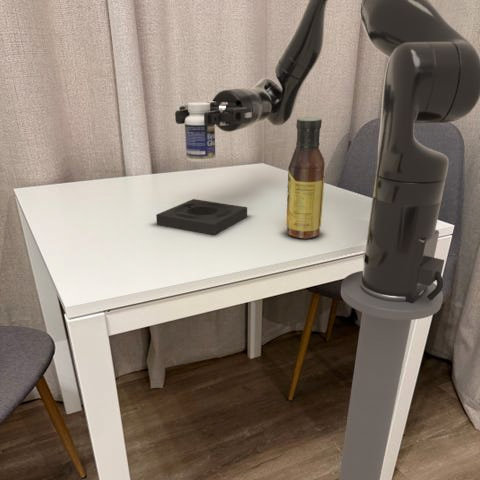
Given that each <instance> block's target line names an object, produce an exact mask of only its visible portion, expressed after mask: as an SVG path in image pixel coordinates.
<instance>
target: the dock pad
mask: <svg viewBox="0 0 480 480" xmlns="http://www.w3.org/2000/svg"><path fill="white" fill-rule="evenodd" d="M155 216H156V225H157V226H163V227H169V228H173V229H174V228H175V229H178V230H184V231H190V232H195V233H200V234H201V233H202V234H208V235H213V236H216V235H217V234H219V233H220V232H223V231H224V230H226V229H228V228H229V227H231V226H234V225H235V224H237V223H239V222H241V221H242V220H244V219H245V218H248V206H243V205H242V206H241V205H235V204H228V203H222V202H215V201H209V200H201V199H195V198H192V199H189V200H187V201H185V202H183V203H180V204H178V205H175V206H173V207H171V208H168V209H166V210H164V211H161V212H159V213H157V214H156V215H155Z"/></svg>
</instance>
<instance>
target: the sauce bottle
mask: <svg viewBox="0 0 480 480" xmlns="http://www.w3.org/2000/svg"><path fill="white" fill-rule="evenodd" d="M322 121H323V119H322V118H321V117H317V116H302V117H301V116H300V117H298V118H296V123H295V124H296V126H295V127H296V130H297V131H296V143H295V149H294V151H293V154H292V156H291V160H290V162H289V165H288V169H287V194H286V195H287V196H286V197H287V198H286V221H285V222H286V232H287V234H288V236H291V237H293V238H297V239H302V240H303V239H305V240H308V239H312V238H316V237H318V236H319V235H320V233H321V232H320V230H321V226H322V218H323V217H322V216H323V202H324V187H325V165H326V163H325V158H324V156H323V153H322V152H321V149H320V148H319V146H320V134H321V128H322Z"/></svg>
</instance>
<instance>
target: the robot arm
mask: <svg viewBox="0 0 480 480" xmlns="http://www.w3.org/2000/svg"><path fill="white" fill-rule="evenodd" d="M328 3H329V0H308V1H307V2H306V6H305V8H304V10H303V11H302V12H303V13H302V15H301V17H300V20H299V21H298V23H297V26H296V28H295V31H294V33H293V34H292V35H291V38H290V40H289V41H288V43H287V45H286V47H285V48H284V49H283V51H282V53H281V55H280V57H279V58H278V60H277V62H276V64H275V67H274V75H275V77H276V79H277V81H278V83H279V84H280V85H279V84H278V83H277V82H276V81H275V80H273V79H272V78H270V77H263V78H261V79H260V80H259V81H258V82H257V83H256V84H255V85H254V86H253V87H250V88H245V87H239V88H232V89H224V90H221V91H219V92H218V93H216V94H215V95H214V97H213V98H212V100H211V101H210V100H208V101H207V102H206V103H210V111H209V112H205V113H204V125H205V126H212V125H215V127H217V128H218V129H220V130H221V131H223V132H228V133H229V132H234V131H235V132H236V131H238V130H241V129H246V128H249V127H251V126H253V125H257V124H259V123H262V122H265V121H267V122H268V123H269V124H271V125H272V126H274V127H280V126H283V125H284V124H286V123H287V122H288V121H289V120H290V119H291V118H292V116H293V114H294V112H295V110H296V106H297V102H298V100H299V96H300V93H301V91H302V87H303V85H304V84H305V81H306V80H307V78H308V77H309V75H310V74H311V72H312V70H313V69H314V67H315V66H316V64H317V63H318V61H319V59H320V56H321V55H322V52H323V48H324V42H325V26H326V14H327V7H328ZM359 17H360V22H361V26H362V28H363V30H364V33H365V34H366V36H367V38H368V40H369V42H370V44H371V45H372V46H373V47H374V48H375V49H376V50H377V52H379V53H380V54H382V55H384V57H387V58H388V61H387V65H386V68H385V72H384V73H385V74H384V79H383V87H382V97H381V111H380V112H381V113H380V123H379V126H380V127H379V134H378V142H377V160H376V162H377V163H376V168H375V169H376V170H375V177H374V184H373V185H374V186H373V192H372V200H371V207H370V215H369V221H368V229H367V237H366V244H365V249H364V250H363V255H362V257H363V258H362V259H363V260H362V261H363V266H362V270H361V271H362V279H361V283H360V287H361V289H362V290H363V291H364V292H365V293H367V294H368V295H370V296H373V297H375V298H378V299H382V300H387V301H397V302H409V303H414V302H415V301H416V300H417V299H418V298H420V297H421V296H422V295H423V294H424V293H425V292H426V291H427V289H428V286H430V285H431V284H432V283H434V282H436V285H437V286H436V288H435V289H434V290H433V291H432V292H431V293H430V294H429V295H428V296H427V298H428V299H430V300H432V299H433V298H434V297H436V296H437V295H438V294H439V293H440V292H441V291H443V288H444V280H443V277H442V273H443V270H444V269H443V268H444V263H445V259H442V258H439V257H435V256H436V255H435V254H436V250H437V245H438V242H439V241H438V240H439V237H440V231H439V230H438V229H436V228H437V224H438V219H439V214H440V210H441V209H440V208H441V203H442V199H443V195H444V189H445V186H446V180H447V177H448V170H449V165H450V160H449V158H448V156H447V155H445V154H444V153H442V152H440V151H438V150H435V149H432V148H430V147H427V146H425V145H423V144H422V143H420V142H419V141H418V140H417V139H416V137H415V124H438V123H439V124H445V123H450V122H451V123H452V122H455V121H458V120H462V119H463V118H465V117H466V116H468V115H469V114H470V113H471V112H472V111H473V109H474V108H476V106H477V104H478V103H479V101H480V55H479V53H478V50H477V49H476V47H475V46H474V45H473V44H472V43H471V42H470V40H468V39H467V38H465V37H464V36H463V34H461V33H459V31H457V30H456V29H455V28H454V27H453V26H452V25H450V24H449V23H448V22H447V21H446V20H445V18H443V16H442V15H441V14H440V12H439V11H438V10H437V8H436V7H435V6H434V5H433V4H432V2H431V1H430V0H361V2H360V6H359ZM178 109H179V110H176V111H175V112H174V115H175V116H174V117H175V123H176V124H177V125H183V124H184V125H185V119H186V117H188V116H189V112H188V104H186V105H181V106H179V108H178Z"/></svg>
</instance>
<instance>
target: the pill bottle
mask: <svg viewBox="0 0 480 480" xmlns="http://www.w3.org/2000/svg"><path fill="white" fill-rule="evenodd" d="M187 105H188V112H189V116H188V117H186V119H185V123H184V133H185V134H184V135H185V151H186V160H187V161H188V162H190V163H210V162H213V161H215V160H216V131H215V130H216V125H212V126H205V125H204V113H205V112H209V111H210V103H207V102H197V101H196V102H188V103H187Z"/></svg>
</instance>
